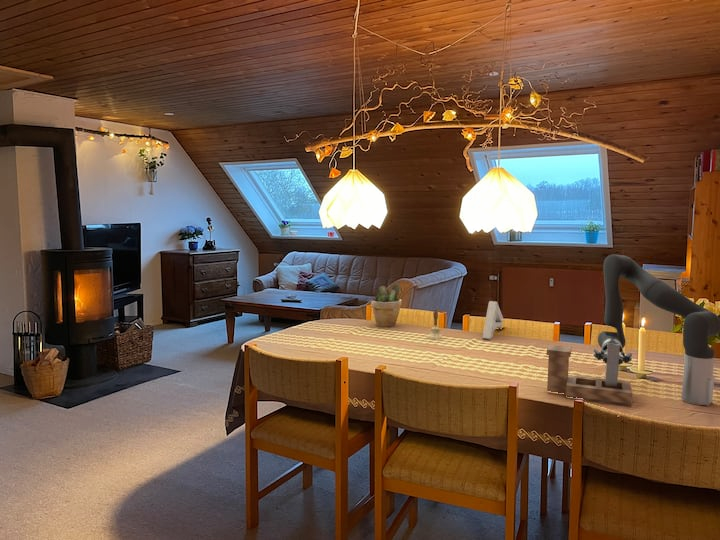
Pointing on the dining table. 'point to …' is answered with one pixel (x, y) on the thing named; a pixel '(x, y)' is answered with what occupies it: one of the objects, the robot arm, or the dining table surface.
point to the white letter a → (492, 320)
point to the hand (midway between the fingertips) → (612, 361)
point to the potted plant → (386, 306)
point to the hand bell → (435, 328)
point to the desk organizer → (582, 381)
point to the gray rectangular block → (612, 364)
